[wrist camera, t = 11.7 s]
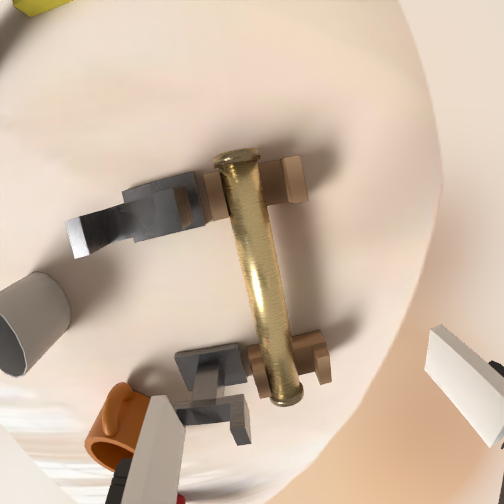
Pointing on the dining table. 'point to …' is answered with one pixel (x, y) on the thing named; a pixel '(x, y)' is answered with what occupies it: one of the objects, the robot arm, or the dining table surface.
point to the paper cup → (180, 499)
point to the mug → (117, 426)
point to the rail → (260, 270)
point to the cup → (30, 321)
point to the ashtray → (37, 6)
